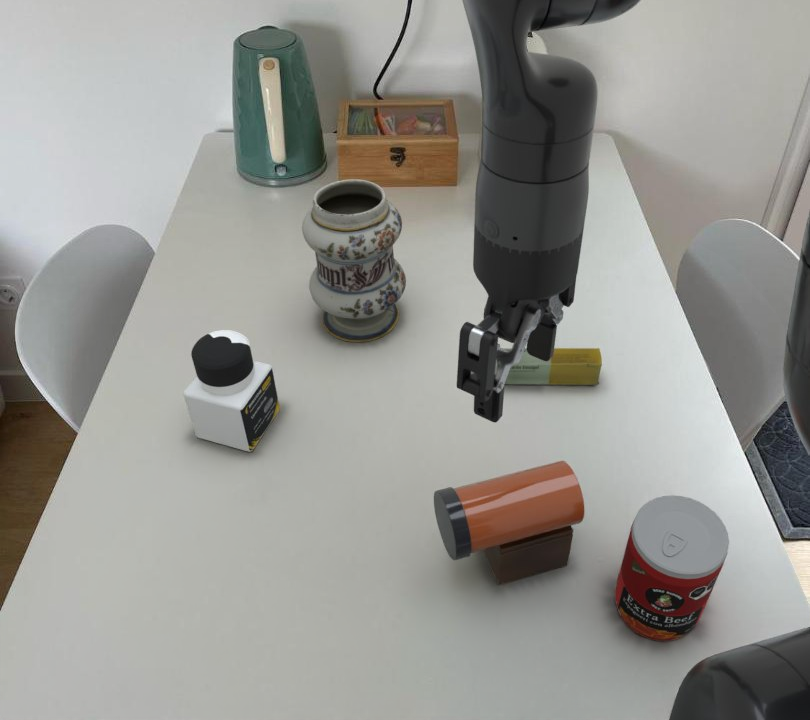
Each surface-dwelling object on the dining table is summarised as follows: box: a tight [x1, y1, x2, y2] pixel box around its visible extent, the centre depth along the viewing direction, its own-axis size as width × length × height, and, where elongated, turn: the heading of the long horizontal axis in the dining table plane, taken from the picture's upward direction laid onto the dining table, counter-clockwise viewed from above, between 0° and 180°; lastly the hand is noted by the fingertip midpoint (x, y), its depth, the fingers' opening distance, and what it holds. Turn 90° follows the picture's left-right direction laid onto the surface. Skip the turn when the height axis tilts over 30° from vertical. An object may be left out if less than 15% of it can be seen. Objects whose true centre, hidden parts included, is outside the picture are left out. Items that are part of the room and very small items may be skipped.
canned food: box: [614, 494, 730, 642], centre depth 70 cm, size 8×8×11 cm
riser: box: [482, 526, 574, 586], centre depth 76 cm, size 7×5×6 cm
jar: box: [433, 460, 585, 561], centre depth 72 cm, size 12×6×6 cm, turn 107°
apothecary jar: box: [301, 178, 407, 343], centre depth 99 cm, size 12×12×18 cm
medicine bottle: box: [182, 329, 281, 453], centre depth 88 cm, size 7×7×12 cm
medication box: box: [495, 347, 603, 386], centre depth 94 cm, size 12×3×4 cm, turn 87°
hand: (514, 384), depth 67 cm, fingers open, 8 cm apart
